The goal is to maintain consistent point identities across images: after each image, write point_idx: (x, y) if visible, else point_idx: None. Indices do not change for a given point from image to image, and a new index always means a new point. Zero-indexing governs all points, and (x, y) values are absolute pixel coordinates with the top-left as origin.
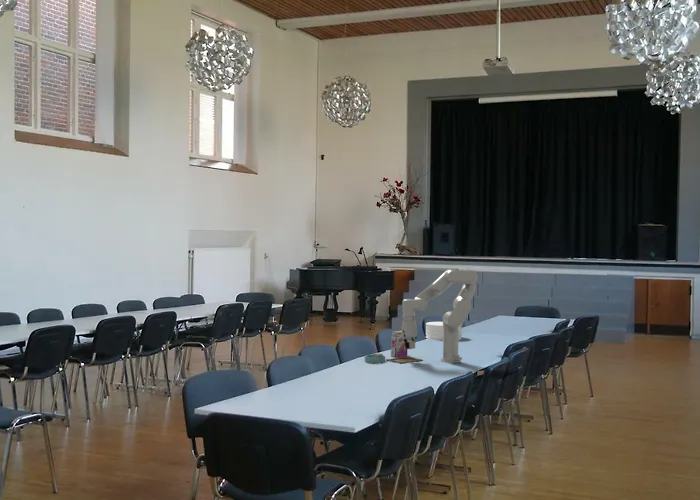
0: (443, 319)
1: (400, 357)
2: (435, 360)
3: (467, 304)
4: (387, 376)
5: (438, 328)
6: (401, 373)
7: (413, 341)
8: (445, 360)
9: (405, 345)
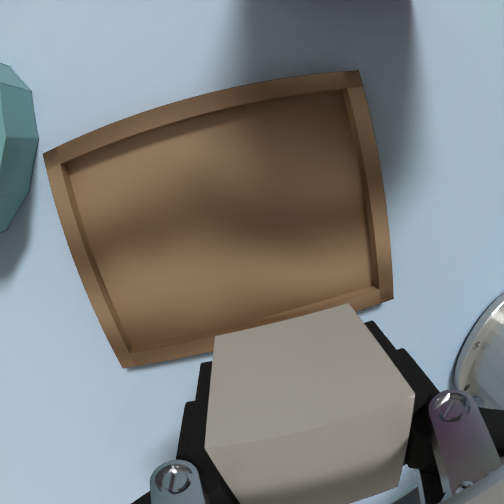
0: None
1: (259, 82)
2: (479, 278)
3: None
4: (20, 494)
5: None
6: (68, 500)
7: (356, 495)
8: (470, 369)
9: (185, 426)
